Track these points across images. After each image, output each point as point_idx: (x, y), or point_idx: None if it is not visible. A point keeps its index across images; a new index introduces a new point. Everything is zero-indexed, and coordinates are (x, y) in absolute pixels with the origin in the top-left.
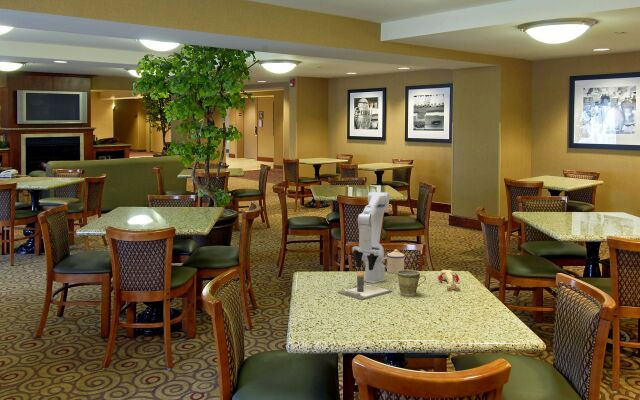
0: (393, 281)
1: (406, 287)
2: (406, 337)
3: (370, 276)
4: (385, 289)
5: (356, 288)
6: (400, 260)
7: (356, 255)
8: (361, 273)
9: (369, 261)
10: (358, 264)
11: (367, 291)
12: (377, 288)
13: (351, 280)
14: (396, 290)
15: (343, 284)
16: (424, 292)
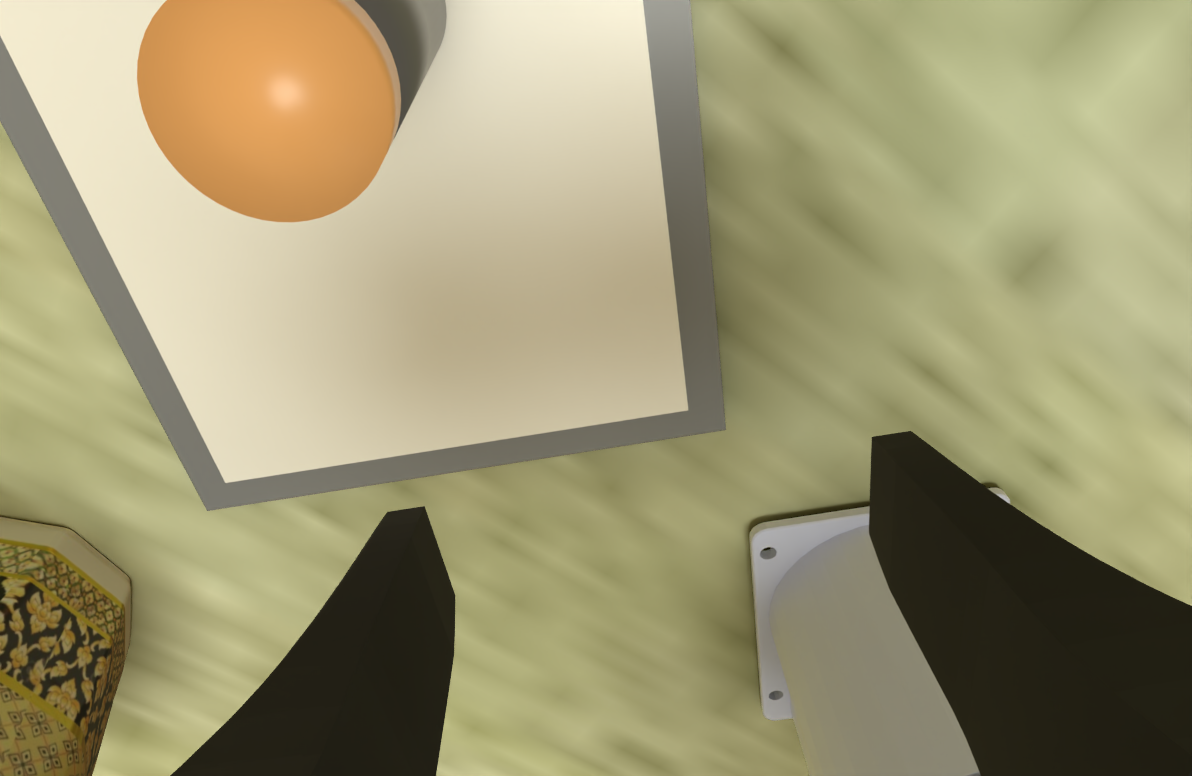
0: (672, 744)
1: None
2: None
3: (853, 596)
4: (283, 458)
5: (591, 68)
6: None
7: (1113, 727)
8: (280, 153)
9: (270, 719)
10: (905, 510)
11: None
12: (394, 394)
13: (1131, 378)
14: (269, 575)
15: (1078, 104)
16: None
